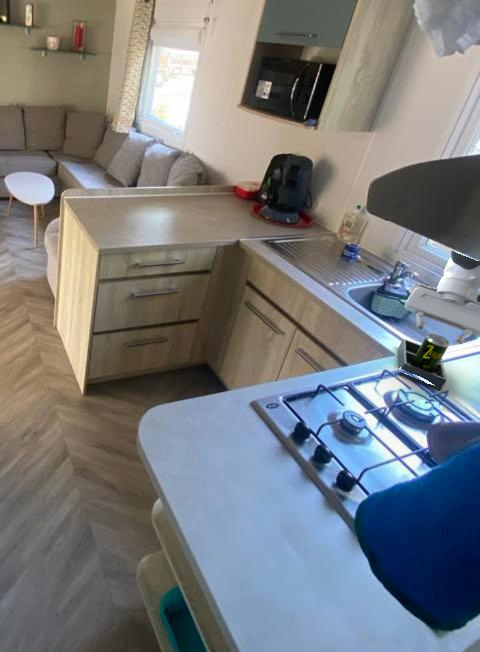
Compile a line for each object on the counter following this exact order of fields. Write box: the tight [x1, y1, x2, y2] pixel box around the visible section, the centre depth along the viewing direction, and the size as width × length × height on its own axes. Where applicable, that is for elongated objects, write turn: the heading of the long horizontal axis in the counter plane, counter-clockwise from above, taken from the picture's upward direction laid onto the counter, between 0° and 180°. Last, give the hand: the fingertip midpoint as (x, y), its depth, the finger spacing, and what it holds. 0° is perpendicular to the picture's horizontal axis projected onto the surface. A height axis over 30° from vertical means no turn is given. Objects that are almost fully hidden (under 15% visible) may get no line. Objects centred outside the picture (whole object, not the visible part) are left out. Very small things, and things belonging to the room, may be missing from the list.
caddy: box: [397, 338, 447, 392], centre depth 125 cm, size 10×17×4 cm, turn 145°
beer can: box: [410, 332, 450, 373], centre depth 120 cm, size 5×5×12 cm
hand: (438, 334), depth 121 cm, fingers open, 8 cm apart
